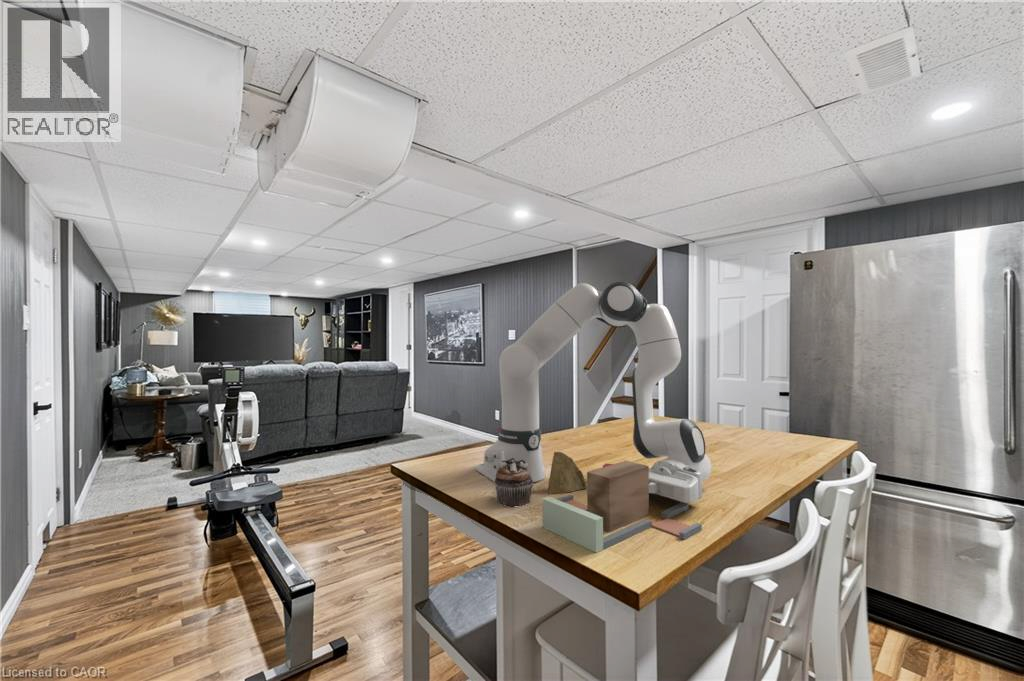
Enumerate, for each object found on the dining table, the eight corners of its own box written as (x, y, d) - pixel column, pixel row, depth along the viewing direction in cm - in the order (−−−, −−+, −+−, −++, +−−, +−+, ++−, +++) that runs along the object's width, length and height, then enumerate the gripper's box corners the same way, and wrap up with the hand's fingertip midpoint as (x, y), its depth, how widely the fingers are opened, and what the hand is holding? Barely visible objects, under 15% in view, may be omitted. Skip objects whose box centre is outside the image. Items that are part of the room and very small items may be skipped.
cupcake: (486, 503, 104) (486, 462, 104) (508, 491, 112) (508, 453, 112) (519, 511, 99) (519, 468, 99) (540, 498, 107) (540, 458, 107)
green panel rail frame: (519, 516, 96) (519, 489, 96) (612, 485, 117) (612, 463, 117) (630, 569, 73) (630, 534, 73) (721, 519, 94) (720, 492, 94)
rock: (589, 475, 119) (554, 467, 121) (591, 455, 113) (554, 448, 116) (583, 510, 110) (545, 501, 113) (585, 490, 105) (545, 482, 108)
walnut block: (587, 522, 92) (587, 471, 93) (626, 507, 101) (626, 460, 101) (609, 532, 88) (609, 478, 88) (648, 514, 97) (648, 466, 97)
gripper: (633, 456, 116) (600, 465, 107) (708, 474, 100) (676, 486, 91) (633, 479, 116) (601, 490, 107) (708, 501, 100) (676, 516, 91)
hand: (636, 489), depth 99 cm, fingers closed
